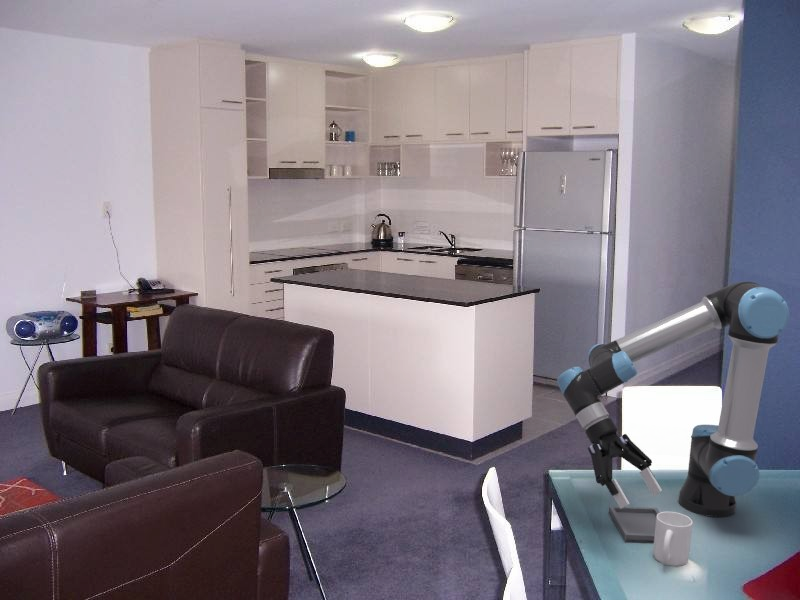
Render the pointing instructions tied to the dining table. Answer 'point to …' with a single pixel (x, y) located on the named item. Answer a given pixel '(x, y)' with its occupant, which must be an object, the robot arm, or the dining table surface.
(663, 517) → the mug
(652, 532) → the tray
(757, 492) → the dining table surface
